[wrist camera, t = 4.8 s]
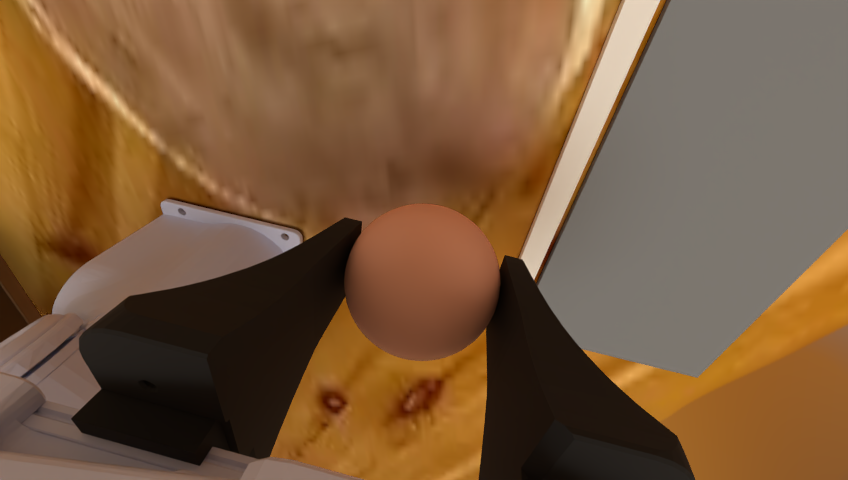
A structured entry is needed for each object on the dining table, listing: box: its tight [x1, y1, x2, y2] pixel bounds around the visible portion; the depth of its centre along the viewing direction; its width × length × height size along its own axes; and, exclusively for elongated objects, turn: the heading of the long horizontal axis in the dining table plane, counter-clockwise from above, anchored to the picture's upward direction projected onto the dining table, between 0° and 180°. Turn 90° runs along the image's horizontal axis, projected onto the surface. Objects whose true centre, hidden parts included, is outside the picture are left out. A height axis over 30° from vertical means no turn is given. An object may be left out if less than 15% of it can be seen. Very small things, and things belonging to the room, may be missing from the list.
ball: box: [344, 203, 500, 361], centre depth 12 cm, size 5×5×5 cm
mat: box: [518, 0, 848, 377], centre depth 18 cm, size 14×20×1 cm
